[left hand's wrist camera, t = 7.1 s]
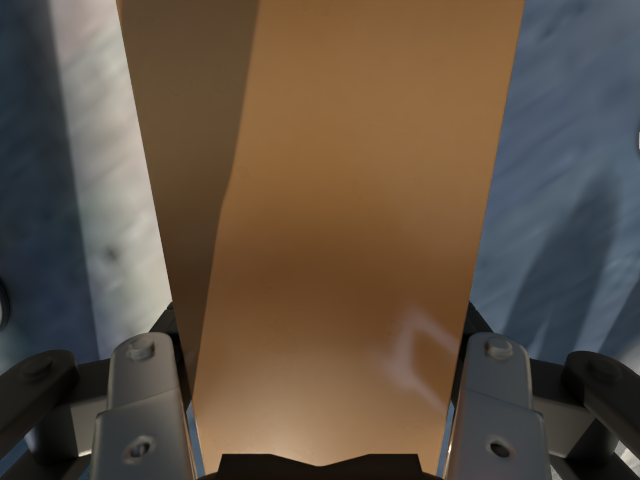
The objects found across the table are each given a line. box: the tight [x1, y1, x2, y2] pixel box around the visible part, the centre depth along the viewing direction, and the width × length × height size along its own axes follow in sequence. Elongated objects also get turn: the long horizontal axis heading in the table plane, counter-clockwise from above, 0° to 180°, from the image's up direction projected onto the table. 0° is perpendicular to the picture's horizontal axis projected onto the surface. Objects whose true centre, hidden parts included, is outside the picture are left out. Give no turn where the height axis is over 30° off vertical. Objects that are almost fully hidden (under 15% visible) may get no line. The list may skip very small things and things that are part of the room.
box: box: [116, 0, 525, 476], centre depth 10 cm, size 21×6×10 cm, turn 0°
